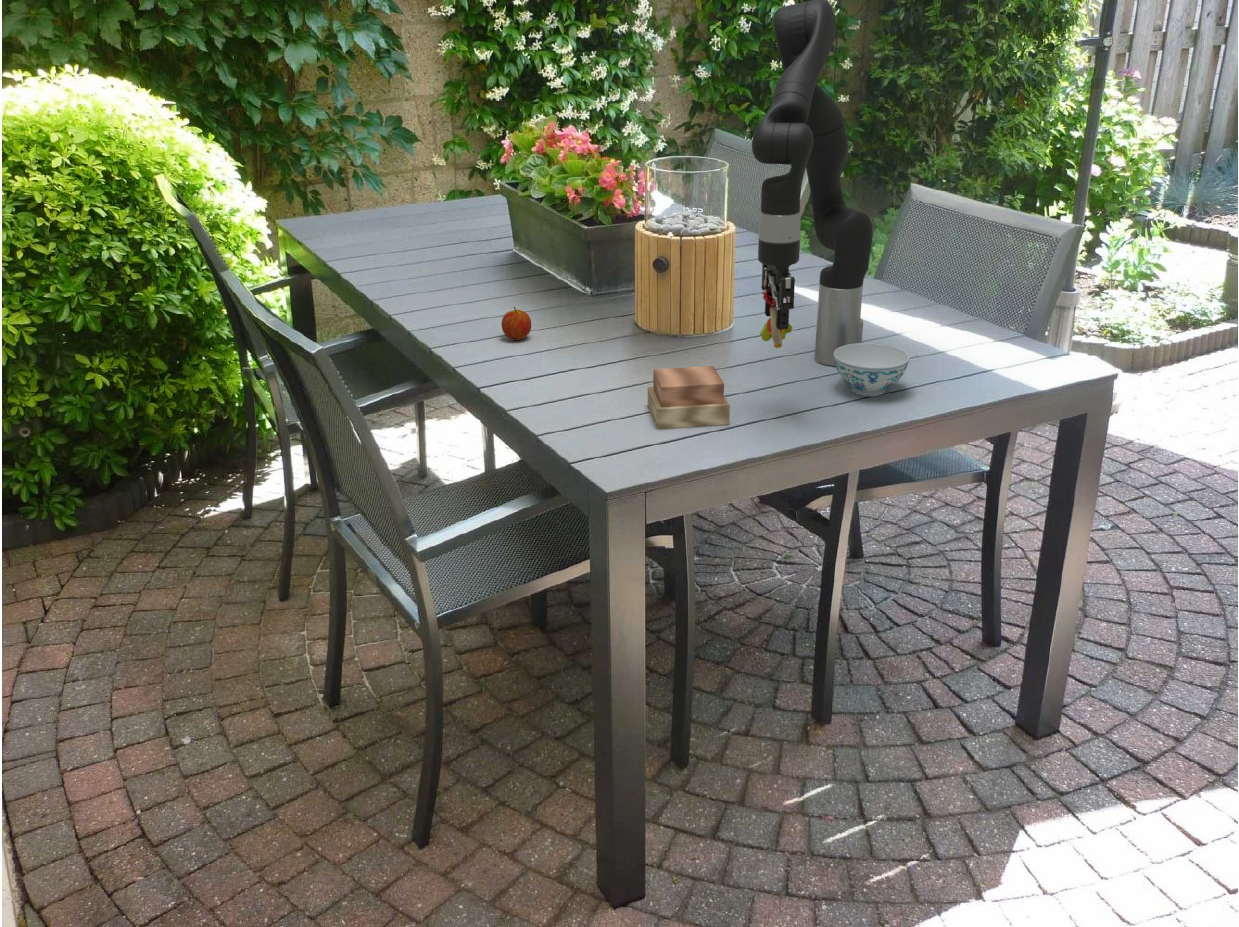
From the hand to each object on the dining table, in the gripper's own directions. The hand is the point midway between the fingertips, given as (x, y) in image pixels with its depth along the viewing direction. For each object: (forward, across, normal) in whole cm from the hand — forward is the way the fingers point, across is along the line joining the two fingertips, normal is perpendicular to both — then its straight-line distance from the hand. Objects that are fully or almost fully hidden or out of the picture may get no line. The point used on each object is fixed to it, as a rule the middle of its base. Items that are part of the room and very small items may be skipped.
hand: (776, 321), depth 210 cm
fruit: (+19, +55, +47) cm, 74 cm away
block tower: (+19, +2, +17) cm, 25 cm away
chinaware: (+19, +9, -22) cm, 31 cm away
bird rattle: (+5, +1, 0) cm, 5 cm away
